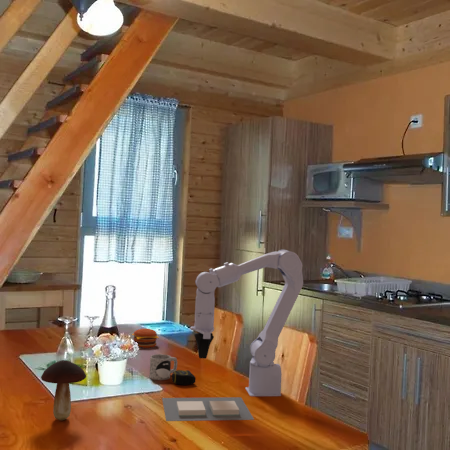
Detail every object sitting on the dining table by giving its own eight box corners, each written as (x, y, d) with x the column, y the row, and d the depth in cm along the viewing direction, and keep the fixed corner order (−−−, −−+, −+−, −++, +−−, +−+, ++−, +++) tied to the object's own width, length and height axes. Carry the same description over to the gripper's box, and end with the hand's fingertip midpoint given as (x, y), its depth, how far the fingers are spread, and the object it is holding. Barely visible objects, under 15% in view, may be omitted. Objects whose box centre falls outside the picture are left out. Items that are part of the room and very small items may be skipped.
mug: (157, 381, 181) (158, 360, 181) (145, 376, 186) (146, 355, 186) (182, 376, 188) (183, 356, 188) (170, 371, 193) (171, 352, 193)
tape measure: (195, 387, 178) (196, 374, 178) (174, 388, 176) (174, 375, 176) (190, 380, 184) (190, 368, 184) (169, 381, 182) (170, 369, 182)
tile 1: (234, 400, 160) (239, 409, 153) (234, 406, 160) (238, 415, 153) (209, 401, 158) (213, 409, 151) (209, 406, 158) (212, 415, 152)
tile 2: (202, 401, 158) (205, 409, 151) (202, 406, 158) (205, 416, 151) (176, 401, 157) (179, 410, 150) (176, 407, 157) (178, 416, 150)
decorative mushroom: (47, 411, 151) (50, 354, 150) (89, 413, 150) (91, 356, 150) (32, 426, 140) (34, 365, 139) (77, 429, 139) (79, 367, 139)
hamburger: (129, 343, 231) (130, 327, 231) (152, 342, 235) (153, 326, 235) (136, 349, 222) (137, 331, 222) (160, 347, 226) (161, 330, 226)
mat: (240, 398, 168) (241, 397, 168) (254, 421, 150) (254, 419, 150) (161, 399, 164) (162, 397, 164) (166, 422, 146) (166, 420, 146)
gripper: (188, 308, 178) (186, 351, 178) (194, 316, 164) (191, 364, 164) (211, 308, 179) (209, 351, 179) (218, 317, 165) (216, 364, 165)
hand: (202, 357), depth 172 cm, fingers closed
